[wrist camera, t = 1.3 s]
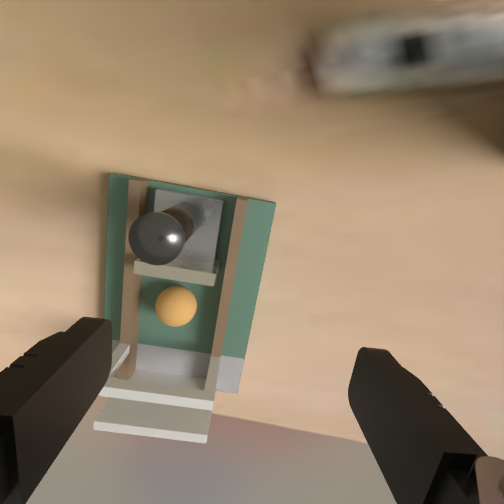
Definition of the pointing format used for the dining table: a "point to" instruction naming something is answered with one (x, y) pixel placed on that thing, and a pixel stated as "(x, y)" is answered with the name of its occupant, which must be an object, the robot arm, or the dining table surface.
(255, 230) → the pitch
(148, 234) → the slider
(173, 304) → the ball
